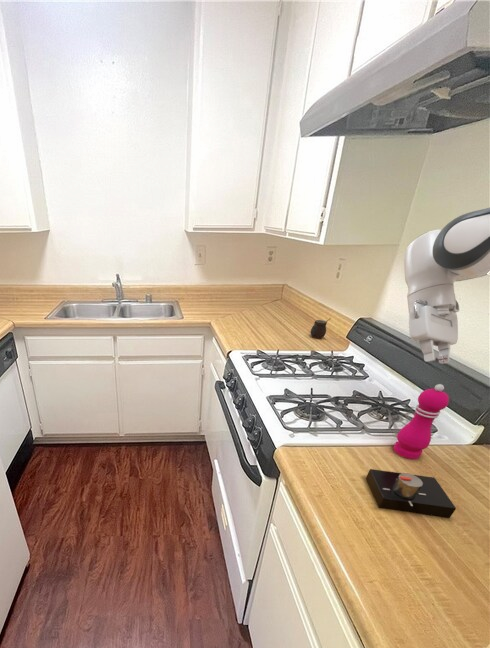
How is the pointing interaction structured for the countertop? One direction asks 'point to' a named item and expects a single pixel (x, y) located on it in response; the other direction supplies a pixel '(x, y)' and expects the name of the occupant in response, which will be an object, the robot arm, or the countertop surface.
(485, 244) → the robot arm
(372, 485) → the black knob panel
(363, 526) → the countertop surface
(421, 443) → the pepper mill
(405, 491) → the hob knob
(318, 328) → the mate gourd
